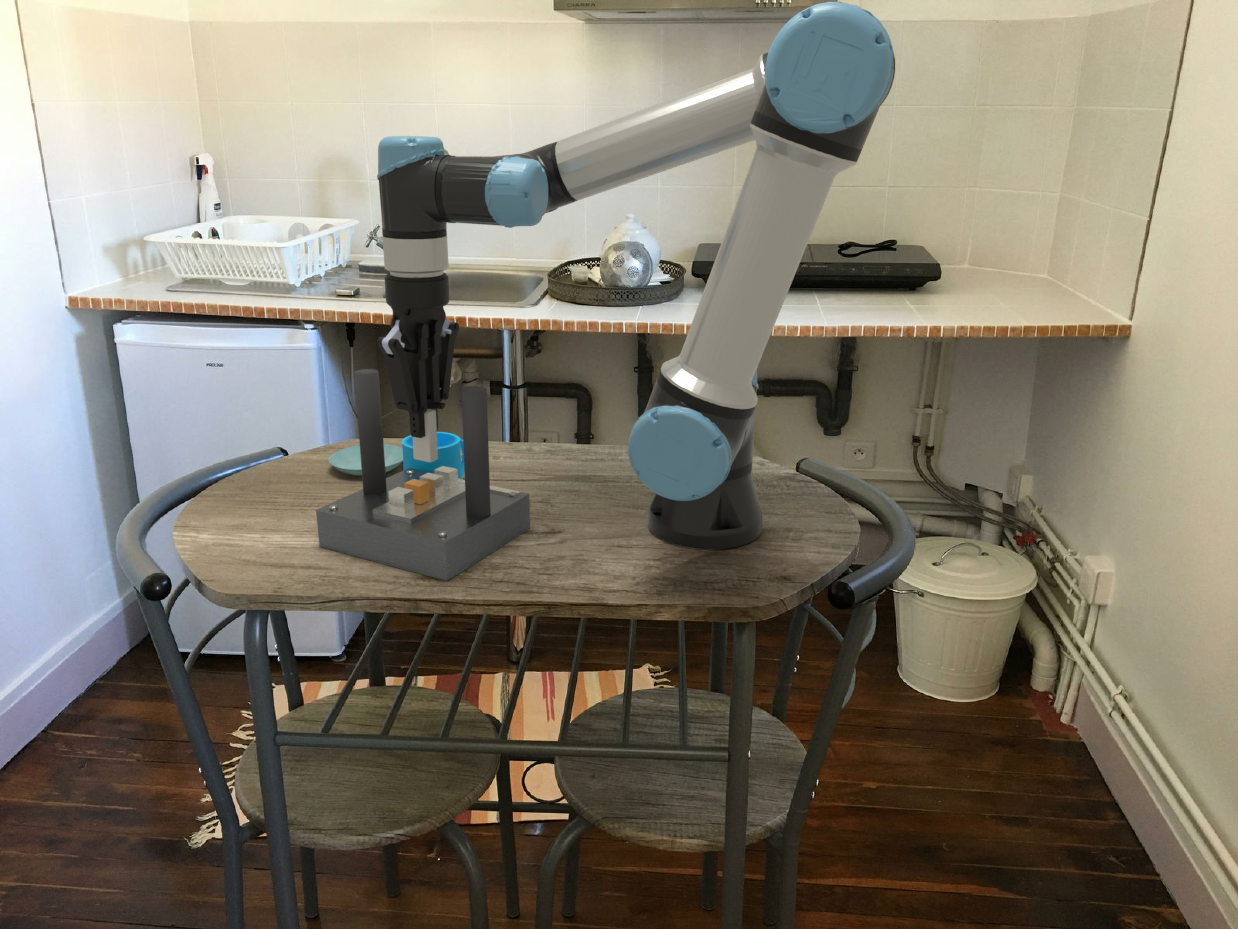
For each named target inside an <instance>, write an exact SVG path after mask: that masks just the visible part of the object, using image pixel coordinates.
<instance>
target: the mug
mask: <svg viewBox="0 0 1238 929" xmlns="http://www.w3.org/2000/svg"><path fill="white" fill-rule="evenodd" d="M401 448H402V449H403V461H402V462H403V463H402V464H403V465H402V466H403V471H404V470H406V469H408V468H411V469H415V470H420V471H425V472H429V473H434V470H435V469H437V468H439V467H441V466H445V467H450V468H455V469H457V471H458V479H463V476H464V475H465V470H464V445H463V438H461V437H460V436H458V435H457V434H455V433H450V432H446V431H445V432H444V431H437V448H438V459H437V460H435V461H433V462H431V463H430V462H426V461H421V460H417V459H414V454H413V437H412V436H411V434H410V435H408V436H406V437H404V438H403V439H402V440H401Z"/></svg>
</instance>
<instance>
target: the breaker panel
mask: <svg viewBox="0 0 1238 929" xmlns="http://www.w3.org/2000/svg"><path fill="white" fill-rule="evenodd" d="M412 479H417V480H421V481H426V482H429V499H430V500H428V501H426V502H424V503H422V504H417V503H414V492H413V490H410V489H406V488H405V486H404V483H406V482H408V481H410V480H412ZM386 487H387V490H386V491H385V492H383V493H380V494H366V493H364V492H363V488H362V489H360V490H357V491H356V492H353V493H351V494H349V495H345V497H342V498H340V499H338V500H335V501H333V502H331V503H328V504H327V505H323V506H322V507H320V508H318V509H316V510H315V514H316V523H317V534H318V535H317V536H318V545H319V548H323V549H327V550H330V551H335V552H337V553H342V554H345V555H349V556H353V557H356V558H360V559H363V560H368V561H371V562H374V563H379V564H382V565H386V566H389V567H392V568H393V567H394V568H397V569H400V570H404V571H409V572H412V573H416V574H419V575H423V576H427V577H431V578H434V579H438V580H442V581H445V582H448V581H450V580H451V579H452V578H454V577H456V576H457V575H459V574H461V573H462V572H463V571H465V570H467V569H468V568H470V567H472V566H473V565H475V564H477V563H478V562H480V561H482V560H483V559H484V558H486V557H488V556H489V555H491V554H493V553H495V552H496V551H498V550H499V549H500V548H502V547H503V546H506V545H507V544H508V543H510V542H511V541H513V540H515V539H517V538H518V537H520V536H521V535H523V534H524V533H526V532H528V531H529V530H530V529H531V515H530V514H531V508H530V507H531V506H530V501H531V500H530V493H529V492H528V493H527V492H524V491H523V492H522V491H518V490H514V489H509V488H505V487H501V486H495V485H491V484H490V510H491V514H490V515H489V516H488V517H485V518H480V519H475V518H470V517H468V516H467V515H466V495H465V479H464V478H462V479H458V471H457V469H455V468H450V467H445V466H441V467H439V468H437V469H435V470H434V473H429V472H425V471H420V470H415V469H411V468H408V469H406V470H404V469H403V470H401V471H399V472H397V473H395V474H393V475H391V476H388V477H386Z"/></svg>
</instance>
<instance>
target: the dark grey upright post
mask: <svg viewBox="0 0 1238 929" xmlns="http://www.w3.org/2000/svg"><path fill="white" fill-rule="evenodd" d="M353 373H354V374H353V375H354V386H355V400H356V414H357V426H358V428H357V429H358V440H359V445H360V454H361V468H362V476H361V479H362V489H363V492H364V493H366V494H380V493H383V492H385V491H386V490H387V487H386V478H387V475H386V472H385V458H384V444H385V443H384V432H383V431H384V430H383V429H384V428H383V418H382V416H383V414H382V403H381V402H382V401H381V400H382V399H381V389H380V388H381V386H380V373H379V370H378V369H374V368H365V369H357V370H355V371H354V372H353Z"/></svg>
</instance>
